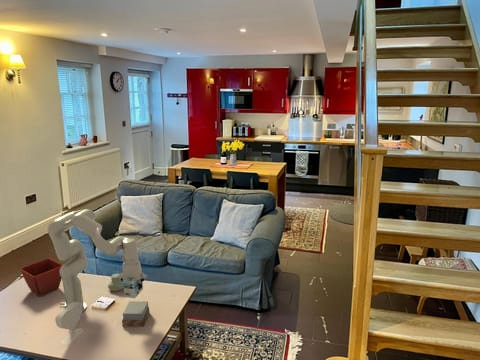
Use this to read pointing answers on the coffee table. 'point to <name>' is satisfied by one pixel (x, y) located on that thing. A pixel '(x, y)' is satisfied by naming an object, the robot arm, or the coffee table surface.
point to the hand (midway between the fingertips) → (133, 288)
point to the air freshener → (115, 283)
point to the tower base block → (136, 321)
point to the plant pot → (42, 276)
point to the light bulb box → (131, 288)
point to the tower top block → (135, 310)
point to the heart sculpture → (70, 320)
